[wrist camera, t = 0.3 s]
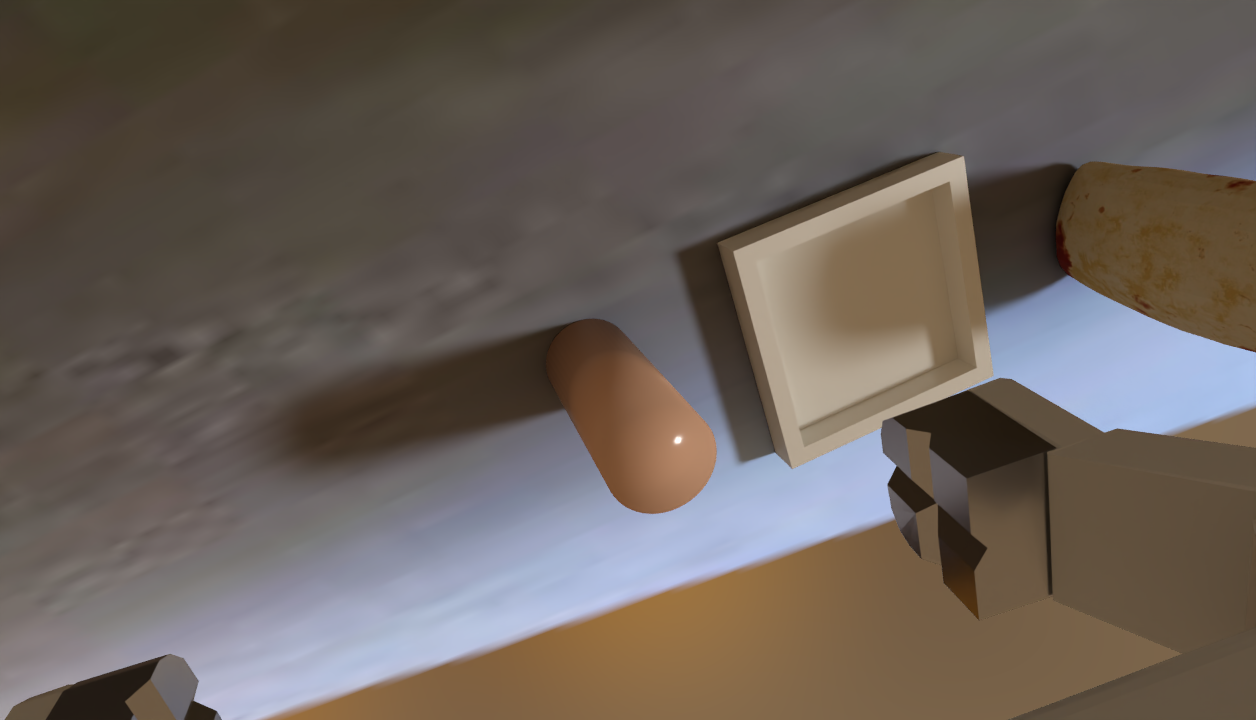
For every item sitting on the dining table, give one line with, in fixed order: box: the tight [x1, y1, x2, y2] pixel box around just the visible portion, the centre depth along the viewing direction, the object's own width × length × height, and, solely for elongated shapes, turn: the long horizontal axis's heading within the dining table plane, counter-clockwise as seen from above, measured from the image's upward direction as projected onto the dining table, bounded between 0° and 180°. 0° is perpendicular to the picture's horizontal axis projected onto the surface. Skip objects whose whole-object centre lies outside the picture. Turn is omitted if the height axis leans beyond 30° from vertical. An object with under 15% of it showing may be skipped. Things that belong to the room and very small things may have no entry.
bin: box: [717, 152, 993, 469], centre depth 54 cm, size 16×16×2 cm
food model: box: [1056, 162, 1256, 352], centre depth 49 cm, size 10×7×20 cm
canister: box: [546, 319, 717, 514], centre depth 44 cm, size 6×6×14 cm
